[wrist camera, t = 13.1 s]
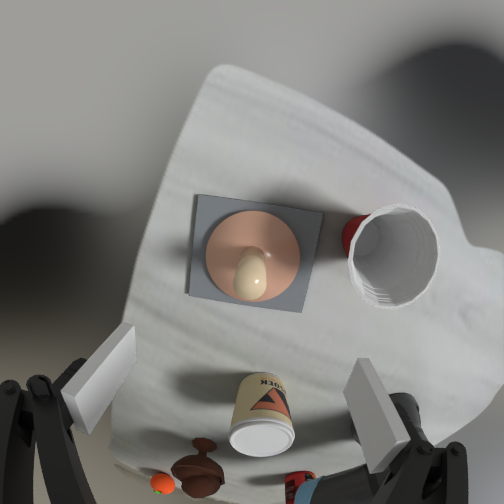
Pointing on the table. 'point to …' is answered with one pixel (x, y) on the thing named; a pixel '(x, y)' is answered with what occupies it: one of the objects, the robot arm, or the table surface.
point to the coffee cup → (261, 417)
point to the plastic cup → (391, 255)
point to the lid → (252, 256)
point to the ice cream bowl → (199, 471)
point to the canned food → (295, 484)
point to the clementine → (162, 483)
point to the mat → (220, 208)
